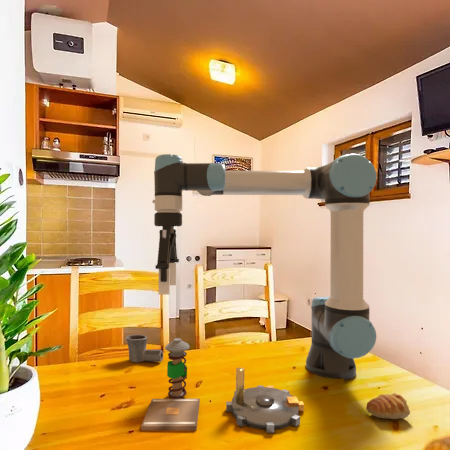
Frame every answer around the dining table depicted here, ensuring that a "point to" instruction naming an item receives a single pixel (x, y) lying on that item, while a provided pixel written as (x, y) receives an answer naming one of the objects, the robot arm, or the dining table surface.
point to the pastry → (388, 406)
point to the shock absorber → (177, 368)
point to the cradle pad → (172, 415)
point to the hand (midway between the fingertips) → (168, 289)
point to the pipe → (142, 350)
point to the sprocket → (263, 406)
